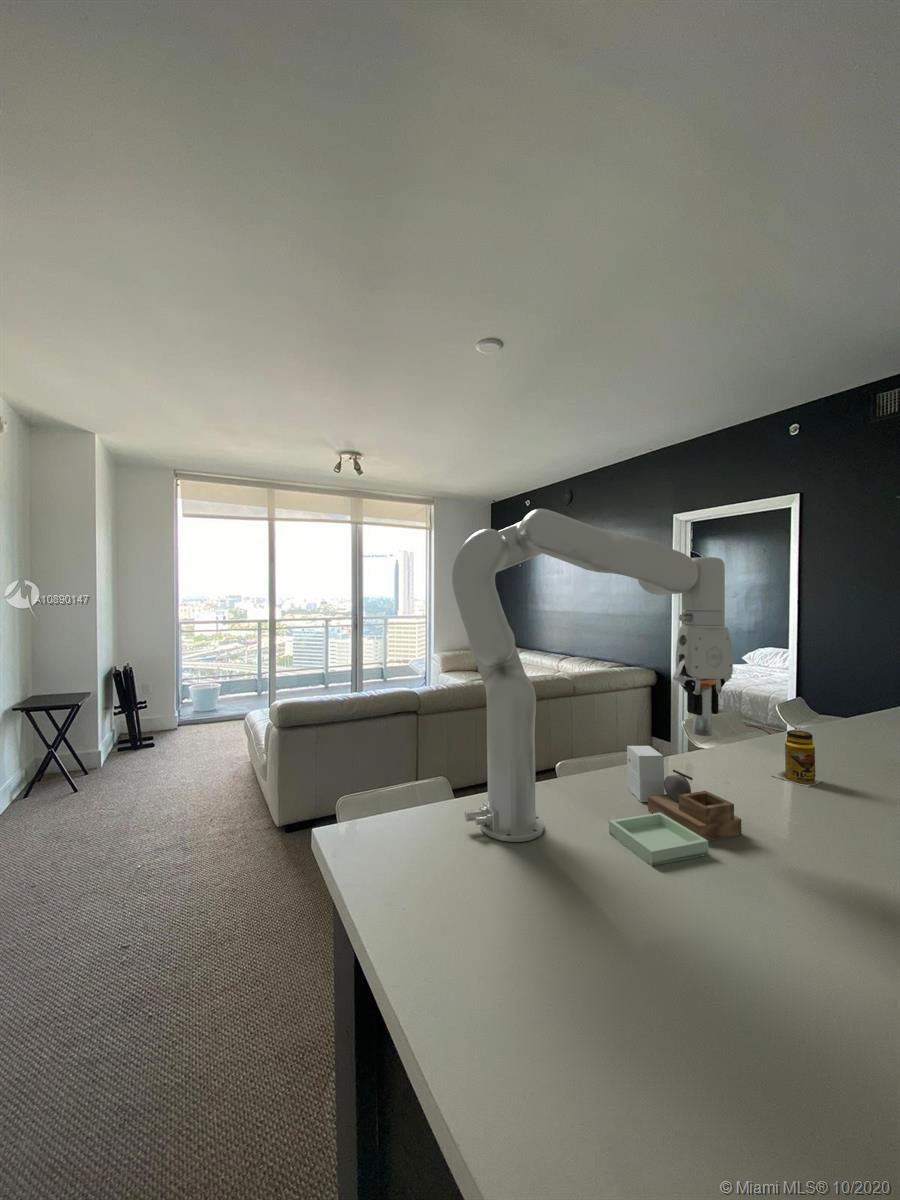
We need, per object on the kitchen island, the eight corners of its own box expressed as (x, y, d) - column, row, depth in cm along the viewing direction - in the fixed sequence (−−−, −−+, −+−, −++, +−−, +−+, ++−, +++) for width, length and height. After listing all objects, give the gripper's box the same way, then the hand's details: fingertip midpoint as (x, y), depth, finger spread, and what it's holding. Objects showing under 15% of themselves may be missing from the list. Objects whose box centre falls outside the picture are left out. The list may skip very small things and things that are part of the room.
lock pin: (702, 737, 90) (702, 679, 90) (685, 731, 94) (685, 675, 94) (720, 736, 91) (720, 678, 91) (702, 730, 95) (702, 675, 96)
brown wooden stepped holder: (699, 842, 88) (699, 797, 88) (648, 810, 101) (647, 772, 101) (741, 834, 91) (740, 791, 91) (686, 804, 104) (685, 767, 104)
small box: (665, 802, 105) (664, 755, 105) (639, 802, 105) (639, 755, 106) (650, 788, 113) (650, 745, 113) (627, 788, 113) (626, 745, 114)
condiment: (808, 787, 113) (807, 737, 113) (770, 776, 121) (769, 729, 121) (823, 781, 117) (822, 733, 117) (786, 771, 124) (785, 725, 124)
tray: (651, 866, 80) (651, 851, 80) (609, 833, 92) (608, 820, 92) (708, 855, 83) (708, 840, 83) (660, 824, 95) (660, 812, 95)
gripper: (683, 621, 87) (683, 720, 87) (752, 620, 92) (752, 715, 92) (654, 619, 94) (654, 711, 94) (720, 619, 99) (719, 706, 99)
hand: (702, 712), depth 93 cm, fingers closed on lock pin, 3 cm apart
